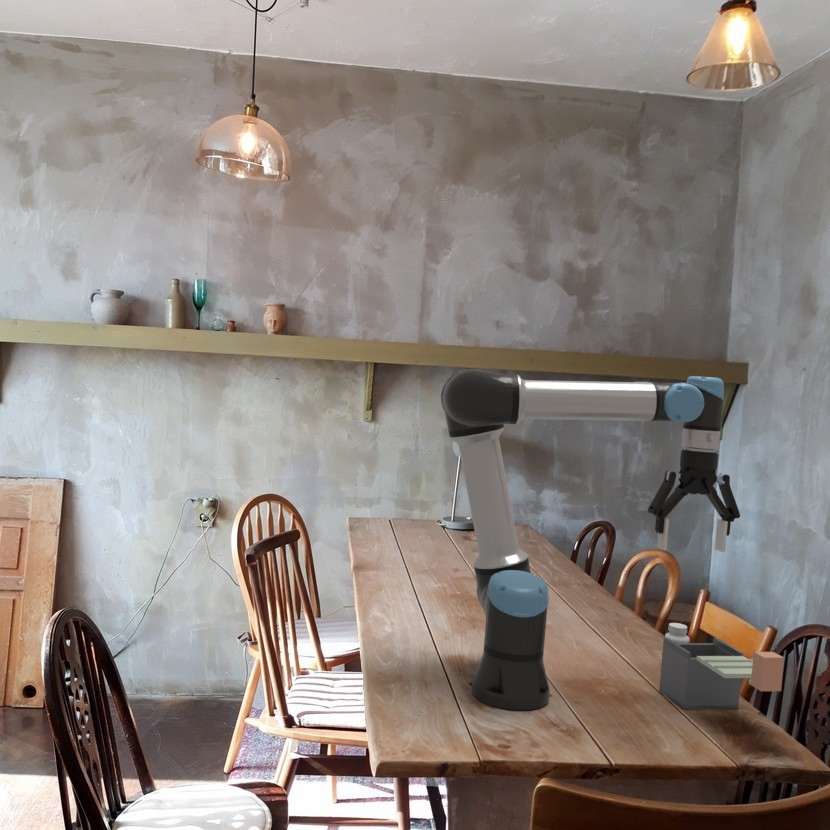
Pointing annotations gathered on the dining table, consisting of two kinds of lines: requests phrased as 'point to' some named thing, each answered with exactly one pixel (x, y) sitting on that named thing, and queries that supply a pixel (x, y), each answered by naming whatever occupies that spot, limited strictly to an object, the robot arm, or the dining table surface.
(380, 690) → the dining table surface
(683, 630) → the pill bottle
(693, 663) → the tub
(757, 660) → the green and tan block
